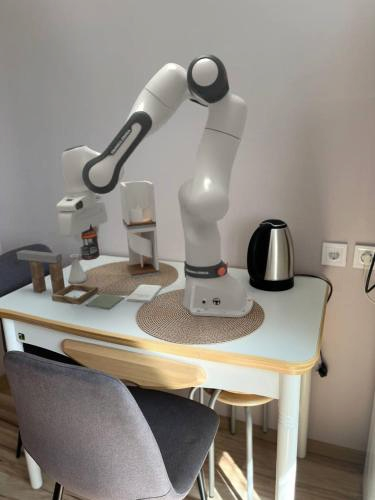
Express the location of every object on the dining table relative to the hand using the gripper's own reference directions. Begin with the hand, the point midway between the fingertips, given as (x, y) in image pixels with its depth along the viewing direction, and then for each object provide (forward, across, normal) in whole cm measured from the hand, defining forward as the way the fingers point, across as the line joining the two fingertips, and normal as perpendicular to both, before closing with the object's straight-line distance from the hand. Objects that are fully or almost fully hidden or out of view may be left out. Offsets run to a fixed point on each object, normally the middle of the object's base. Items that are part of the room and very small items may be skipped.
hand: (88, 242), depth 127 cm
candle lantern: (+21, -28, +2) cm, 35 cm away
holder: (+20, 0, -15) cm, 24 cm away
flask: (+20, -13, -18) cm, 30 cm away
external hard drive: (+21, -8, +13) cm, 26 cm away
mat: (+20, +1, +4) cm, 20 cm away
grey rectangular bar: (+7, 0, -22) cm, 23 cm away
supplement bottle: (+5, 0, 0) cm, 5 cm away
